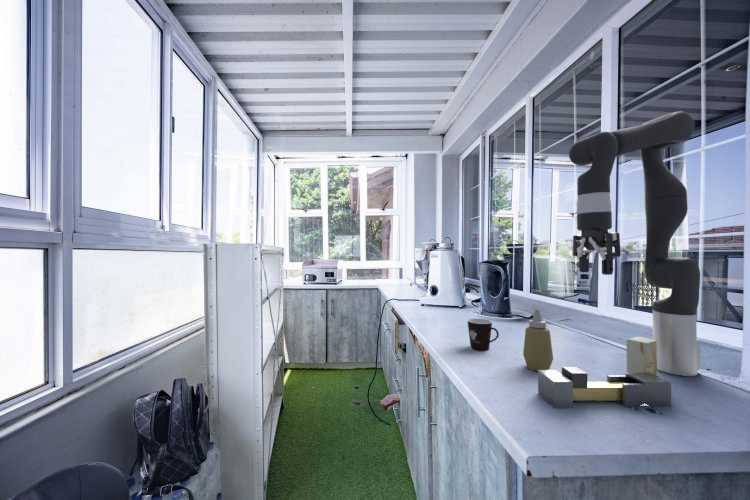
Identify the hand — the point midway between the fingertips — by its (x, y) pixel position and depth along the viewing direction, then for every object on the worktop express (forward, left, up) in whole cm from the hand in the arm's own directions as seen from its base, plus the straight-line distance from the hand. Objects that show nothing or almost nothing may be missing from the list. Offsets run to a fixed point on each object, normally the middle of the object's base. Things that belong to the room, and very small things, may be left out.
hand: (595, 273), depth 80 cm
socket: (+15, +8, -30) cm, 34 cm away
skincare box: (-12, 0, -30) cm, 32 cm away
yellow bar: (+7, +8, -30) cm, 31 cm away
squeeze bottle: (+9, -12, -30) cm, 33 cm away
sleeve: (-4, +8, -30) cm, 31 cm away
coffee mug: (+20, -30, -30) cm, 47 cm away
